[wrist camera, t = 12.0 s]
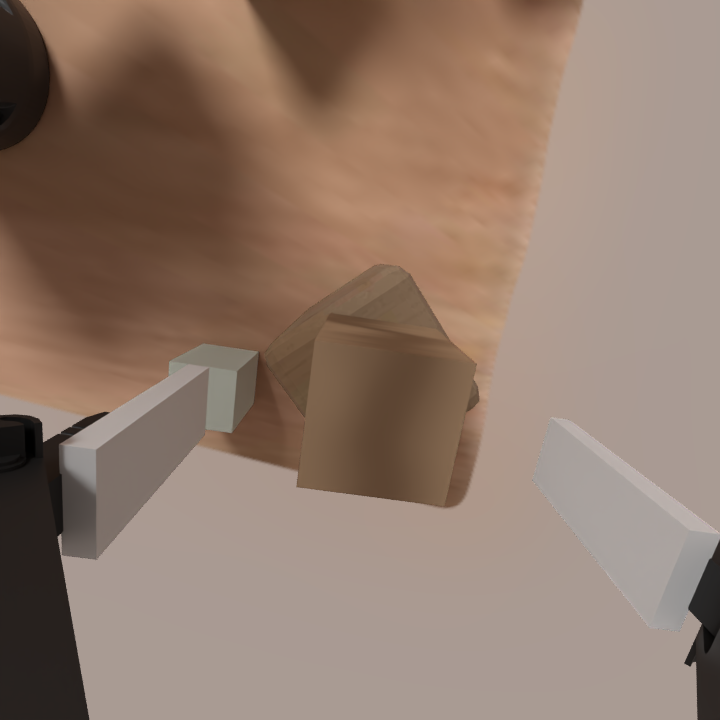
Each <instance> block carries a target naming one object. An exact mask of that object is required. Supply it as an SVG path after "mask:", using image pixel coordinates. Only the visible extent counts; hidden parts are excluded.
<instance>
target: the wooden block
mask: <svg viewBox="0 0 720 720" xmlns="http://www.w3.org/2000/svg"><path fill="white" fill-rule="evenodd" d="M330 313H334V314H341V315H348V316H354V317H361V318H368V319H374V320H381V321H388V322H395V323H401V324H408V325H415V326H421V327H428V328H435V329H437V330H438V331H439V332H440V333H442V334H443V335H444V336H445V337H446V338H447V339H449V338H448V336H447V335H446V333H445V331H444V330H443V328H442V326H441V325H440V323H439V321H438V320H437V318H436V316H435V315H434V313H433V311H432V310H431V308H430V306H429V305H428V303H427V301H426V300H425V298H424V296H423V295H422V293H421V291H420V290H419V288H418V286H417V285H416V283H415V282H414V280H413V278H412V277H411V275H410V274H409V273H408V272H406V271H405V270H404V269H402V268H401V267H400V266H393V265H383V264H380V265H375V266H373V267H371V268H370V269H368V270H367V271H365V272H364V273H362V274H361V275H359V276H358V277H356V278H355V279H353V280H352V281H350V282H349V283H347V284H345V285H344V286H342V287H341V288H339V289H338V290H336V291H335V292H333V293H332V294H330V295H329V296H327V297H326V298H324V299H323V300H321V301H320V302H318V303H317V304H315V305H314V306H312V307H311V308H309V309H308V310H307V311H306V312H305V313H304V314H303V315H301V316H300V317H299V318H298V319H297V320H296V321H295V322H294V323H293V324H292V325H291V326H290V327H289V328H288V329H287V330H285V331H284V332H283V333H282V334H281V335H280V336H279V337H278V338H277V339H276V340H275V341H274V342H273V343H272V344H271V345H270V347H269V348H268V350H267V351H266V353H265V358H266V362H267V366H268V368H269V369H270V371H271V372H272V373H273V375H274V376H275V377H276V379H277V380H278V382H279V383H280V384H281V386H282V387H283V388H284V390H285V391H286V393H287V394H288V395H289V397H290V398H291V399H292V401H293V402H294V404H295V405H296V406H297V408H298V409H299V410H300V412H301V413H302V415H303V416H304V417H305V415H306V407H307V399H308V391H309V383H310V375H311V367H312V359H313V351H314V343H315V339H316V337H317V335H318V334H319V332H320V330H321V328H322V326H323V325H324V323H325V321H326V319H327V317H328V316H329V314H330ZM478 402H479V392H478V386H477V384H476V383H475V381H474V380H473V383H472V387H471V392H470V396H469V401H468V405H467V410H466V412H467V411H469V410H471V409H472V408H473V407H474V406H475V405H476V404H477V403H478Z"/></svg>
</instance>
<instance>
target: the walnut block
mask: <svg viewBox="0 0 720 720" xmlns="http://www.w3.org/2000/svg"><path fill="white" fill-rule="evenodd" d="M476 365H477V364H476V363H475V362H474V361H473V360H472V359H471V358H469V357H468V356H467V355H466V354H465V353H464V352H462V351H461V350H460V349H459V348H458V347H457V346H455V345H454V344H453V343H452V342H451V341H450V340H449V339H447V338H446V337H445V336H444V335H443V334H442V333H440V332H439V331H438V330H437V329H435V328H428V327H421V326H415V325H408V324H401V323H395V322H388V321H381V320H374V319H368V318H361V317H354V316H348V315H341V314H334V313H330V314H329V316H328V317H327V319H326V321H325V323H324V325H323V326H322V328H321V330H320V332H319V334H318V335H317V337H316V339H315V343H314V351H313V359H312V367H311V375H310V383H309V391H308V399H307V407H306V415H305V423H304V431H303V439H302V447H301V455H300V463H299V471H298V479H297V487H300V488H309V489H316V490H323V491H331V492H338V493H346V494H354V495H362V496H369V497H377V498H385V499H392V500H400V501H407V502H415V503H422V504H430V505H438V506H445V502H446V498H447V493H448V489H449V485H450V480H451V476H452V471H453V467H454V462H455V458H456V454H457V449H458V445H459V440H460V436H461V432H462V427H463V423H464V418H465V414H466V410H467V405H468V401H469V396H470V392H471V387H472V383H473V379H474V374H475V370H476Z"/></svg>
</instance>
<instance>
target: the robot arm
mask: <svg viewBox="0 0 720 720" xmlns="http://www.w3.org/2000/svg"><path fill="white" fill-rule="evenodd" d="M48 90H49V67H48V60H47V55H46V51H45V47H44V44H43V41H42V38H41V36H40V33H39V31H38V29H37V27H36V25H35V23H34V21H33V19H32V17H31V16H30V14H29V13H28V11H27V10H26V8H25V7H24V6H23V4H22V3H21V2H20V0H0V150H2V149H5V148H8V147H10V146H12V145H14V144H16V143H18V142H19V141H21V140H22V139H23V138H25V137H26V136H27V135H28V134H29V133H30V132H31V131H32V129H33V128H34V127H35V125H36V124H37V122H38V121H39V119H40V117H41V115H42V113H43V110H44V108H45V105H46V101H47V97H48ZM208 380H209V367H205V366H199V365H192V364H188V365H186V366H185V367H183V368H181V369H180V370H178V371H177V372H175V373H173V374H172V375H170V376H169V377H167V378H165V379H164V380H162V381H160V382H159V383H157V384H156V385H154V386H152V387H151V388H149V389H148V390H146V391H144V392H143V393H141V394H140V395H138V396H136V397H135V398H133V399H131V400H130V401H128V402H127V403H125V404H123V405H122V406H120V407H119V408H117V409H115V410H114V411H112V412H111V413H110V412H103V413H99V414H96V415H93V416H89V417H86V418H84V419H83V420H81V421H79V422H78V423H76V424H74V425H73V426H72V427H69V428H67V429H66V430H64V431H62V432H61V434H57V435H55V436H54V437H52V438H50V439H48V440H47V441H45V442H43V433H42V422H41V421H40V420H39V419H38V418H35V417H32V416H27V415H0V720H89V715H88V709H87V704H86V698H85V692H84V686H83V681H82V675H81V670H80V664H79V658H78V653H77V647H76V641H75V635H74V629H73V624H72V618H71V612H70V606H69V601H68V595H67V589H66V583H65V578H64V572H63V567H62V561H61V555H60V549H59V543H58V538H57V537H58V536H59V535H60V534H61V536H62V555H64V556H72V557H80V558H88V559H97V558H98V557H99V556H100V555H101V554H102V553H103V551H104V550H105V549H106V548H107V547H108V546H109V545H110V543H111V542H112V541H113V540H114V539H115V538H116V537H117V535H118V534H119V533H120V532H121V531H122V530H123V528H124V527H125V526H126V525H127V524H128V523H129V521H130V520H131V519H132V518H133V517H134V516H135V515H136V514H137V512H138V511H139V510H140V509H141V508H142V507H143V505H144V504H145V503H146V502H147V501H148V500H149V499H150V497H151V496H152V495H153V494H154V493H155V492H156V490H157V489H158V488H159V487H160V486H161V485H162V484H163V482H164V481H165V480H166V479H167V478H168V477H169V476H170V474H171V473H172V472H173V471H174V470H175V469H176V467H177V466H178V465H179V464H180V463H181V462H182V461H183V459H184V458H185V457H186V456H187V455H188V453H189V452H190V451H191V450H192V449H193V448H194V447H195V446H196V444H197V443H198V442H199V441H200V440H201V439H202V438H203V436H204V435H205V425H206V410H207V395H208ZM532 481H533V482H534V483H535V485H536V486H537V487H538V488H539V490H540V491H541V492H542V493H543V495H544V496H545V497H546V498H547V500H548V501H549V502H550V503H551V505H552V506H553V507H554V508H555V510H556V511H557V512H558V513H559V515H560V516H561V517H562V519H563V520H564V521H565V522H566V524H567V525H568V526H569V527H570V528H571V530H572V531H573V532H574V534H575V535H576V536H577V537H578V538H579V540H580V541H581V542H582V544H583V545H584V546H585V547H586V549H587V550H588V551H589V553H590V554H591V555H592V556H593V558H594V559H595V560H596V561H597V563H598V564H599V565H600V566H601V568H602V569H603V570H604V571H605V573H606V574H607V575H608V576H609V578H610V579H611V580H612V581H613V583H614V584H615V585H616V587H617V588H618V589H619V590H620V592H621V593H622V594H623V595H624V597H625V598H626V599H627V600H628V602H629V603H630V604H631V605H632V607H633V608H634V609H635V610H636V612H637V613H638V614H639V615H640V617H641V618H642V619H643V620H644V622H645V623H646V624H647V625H648V627H649V628H655V629H663V630H671V631H680V629H681V627H682V625H683V622H684V620H685V618H686V615H687V613H688V611H689V610H690V612H692V614H693V615H694V616H695V617H696V618H697V619H698V620H699V621H700V622H701V623H702V625H701V627H700V630H699V632H698V634H697V636H696V639H695V641H694V643H693V645H692V647H691V649H690V652H689V654H688V656H687V658H686V661H685V664H686V665H688V666H691V664H692V663H693V662H696V668H697V669H696V670H697V671H696V672H697V712H698V713H697V714H698V720H720V533H719V532H718V531H716V530H715V529H714V528H712V527H711V526H710V525H708V524H707V523H706V522H704V521H703V520H702V519H700V518H699V517H698V516H696V515H695V514H694V513H693V512H691V511H690V510H689V509H687V508H686V507H684V506H683V505H682V504H681V503H679V502H678V501H677V500H675V499H674V498H672V497H671V496H670V495H669V494H667V493H666V492H665V491H663V490H662V489H661V488H659V487H658V486H657V485H655V484H654V483H653V482H651V481H650V480H648V479H647V478H646V477H645V476H643V475H642V474H641V473H639V472H638V471H637V470H635V469H634V468H633V467H632V466H630V465H629V464H627V463H626V462H625V461H624V460H622V459H621V458H620V457H618V456H617V455H616V454H614V453H613V452H612V451H610V450H609V449H608V448H606V447H605V446H604V445H602V444H601V443H599V442H598V441H597V440H596V439H594V438H593V437H592V436H590V435H589V434H588V433H586V432H585V431H584V430H582V429H581V428H580V427H578V426H577V425H576V424H574V423H573V422H572V421H570V420H566V419H559V418H553V417H551V418H550V421H549V424H548V428H547V432H546V435H545V438H544V442H543V445H542V449H541V452H540V456H539V459H538V462H537V465H536V469H535V473H534V476H533V479H532Z"/></svg>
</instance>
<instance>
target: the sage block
mask: <svg viewBox="0 0 720 720" xmlns="http://www.w3.org/2000/svg"><path fill="white" fill-rule="evenodd" d="M258 356H259V352H258V351H251V350H245V349H238V348H231V347H225V346H218V345H211V344H204V343H203V344H201V345H199V346H197V347H195V348H193V349H192V350H190V351H188V352H186V353H184V354H182V355H180V356H178V357H176V358H174V359H172V360H171V361H169V376H170V375H172V374H173V373H175V372H177V371H178V370H180V369H181V368H183V367H185V366H186V365H188V364H192V365H199V366H205V367H209V380H208V395H207V410H206V425H205V429H206V430H214V431H221V432H228V433H232V432H233V431H234V430H235V428H236V427H237V426H238V424H239V423H240V421H241V420H242V419H243V417H244V416H245V415H246V413H247V412H248V411H249V409H250V408H251V407H252V405H253V404H254V397H255V387H256V377H257V366H258Z"/></svg>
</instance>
